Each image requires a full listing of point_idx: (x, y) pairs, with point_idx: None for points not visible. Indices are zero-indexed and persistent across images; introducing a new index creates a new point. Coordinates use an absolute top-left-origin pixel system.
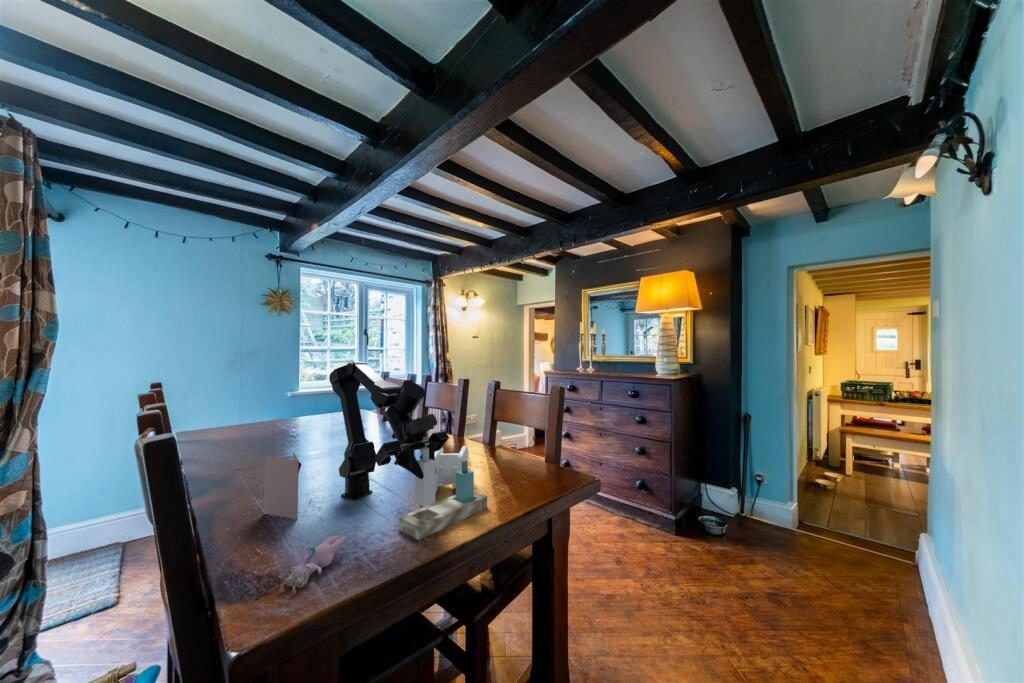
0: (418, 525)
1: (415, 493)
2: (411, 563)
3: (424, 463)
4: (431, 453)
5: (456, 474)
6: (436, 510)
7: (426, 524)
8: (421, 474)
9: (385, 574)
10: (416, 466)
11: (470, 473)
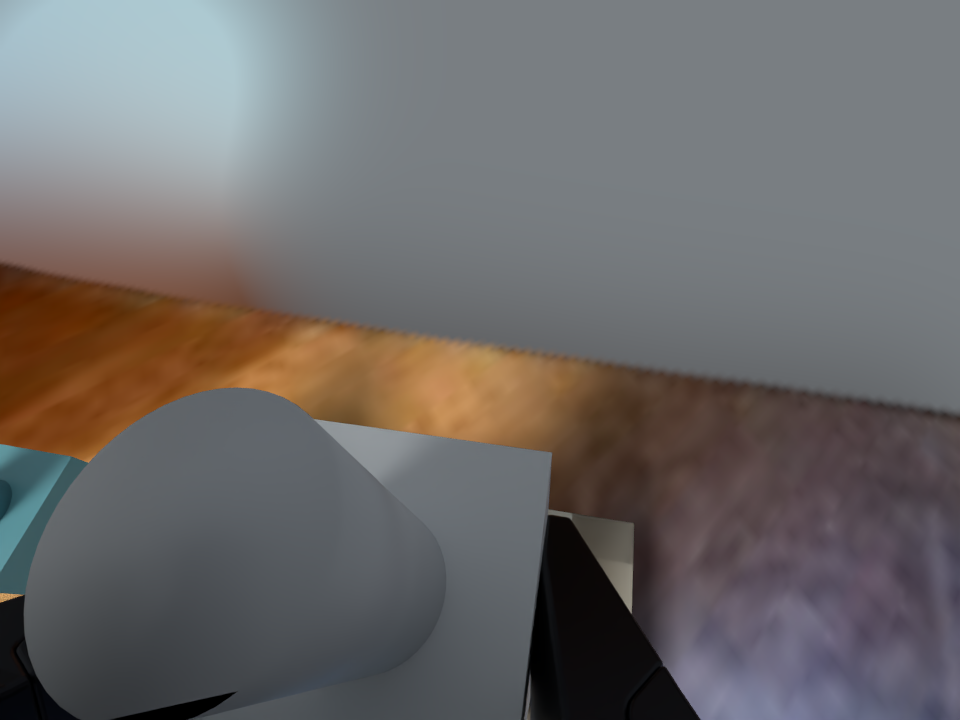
0: (625, 539)
1: (528, 707)
2: (772, 418)
3: (538, 455)
4: (11, 649)
5: (16, 580)
6: None
7: (575, 515)
8: (576, 531)
9: (909, 451)
10: (630, 623)
11: (13, 448)
